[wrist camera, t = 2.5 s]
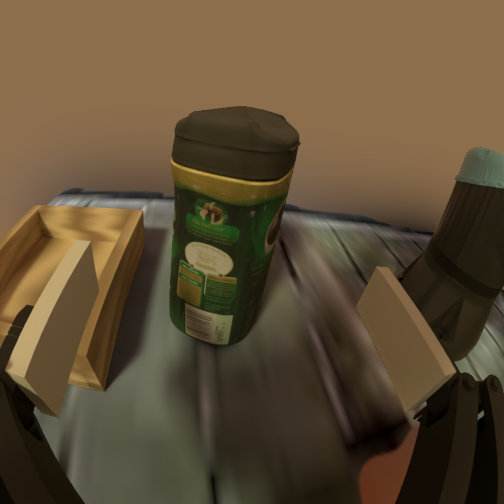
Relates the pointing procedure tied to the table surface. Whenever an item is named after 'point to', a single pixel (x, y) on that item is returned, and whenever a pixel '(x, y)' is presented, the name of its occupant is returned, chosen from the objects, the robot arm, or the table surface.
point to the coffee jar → (226, 216)
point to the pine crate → (48, 259)
